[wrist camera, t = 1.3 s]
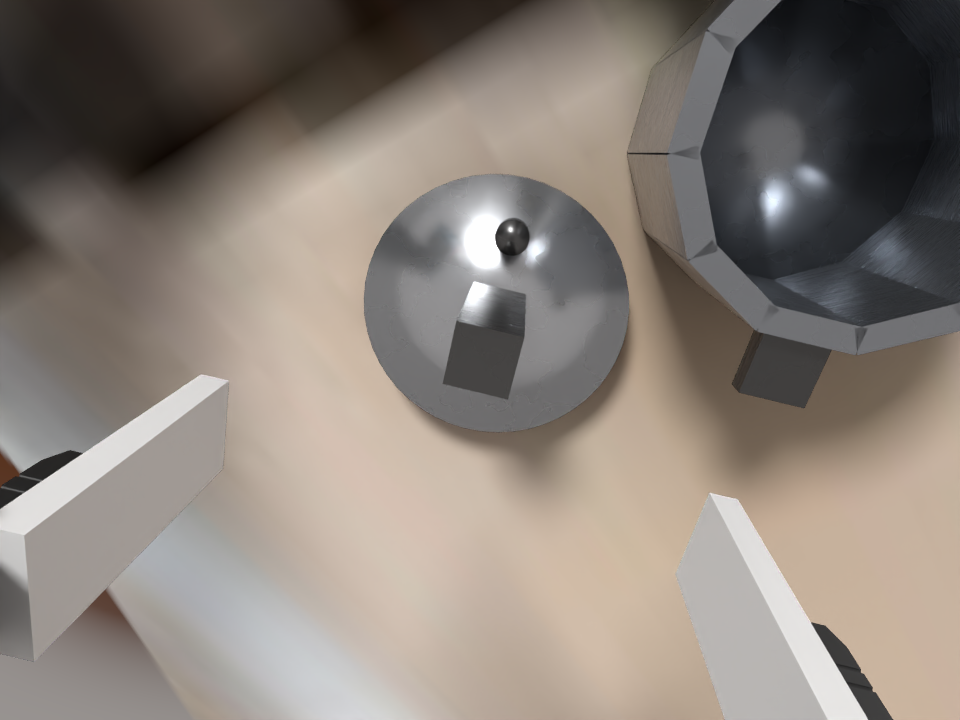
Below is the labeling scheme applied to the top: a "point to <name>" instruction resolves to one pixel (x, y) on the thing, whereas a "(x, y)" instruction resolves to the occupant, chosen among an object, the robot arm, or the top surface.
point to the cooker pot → (810, 176)
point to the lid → (496, 303)
